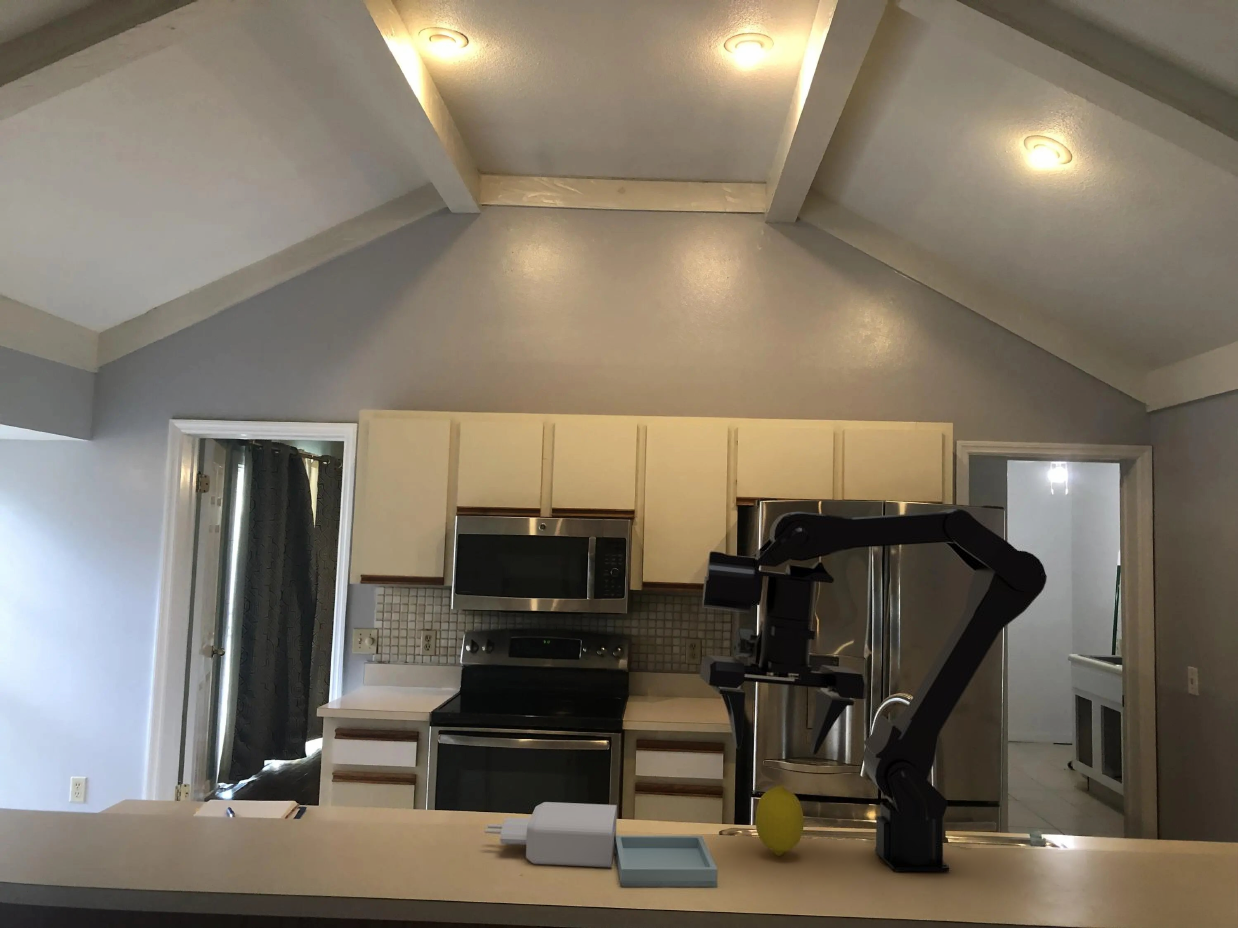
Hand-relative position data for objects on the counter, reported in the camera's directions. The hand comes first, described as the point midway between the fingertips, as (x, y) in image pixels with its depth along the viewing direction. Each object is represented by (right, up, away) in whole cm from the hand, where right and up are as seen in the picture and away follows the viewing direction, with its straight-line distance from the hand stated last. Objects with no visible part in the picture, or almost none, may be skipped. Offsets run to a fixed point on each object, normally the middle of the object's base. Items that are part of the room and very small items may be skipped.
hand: (775, 750), depth 105 cm
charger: (-26, -12, -1) cm, 29 cm away
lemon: (0, -12, -1) cm, 12 cm away
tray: (-13, -11, -6) cm, 18 cm away
